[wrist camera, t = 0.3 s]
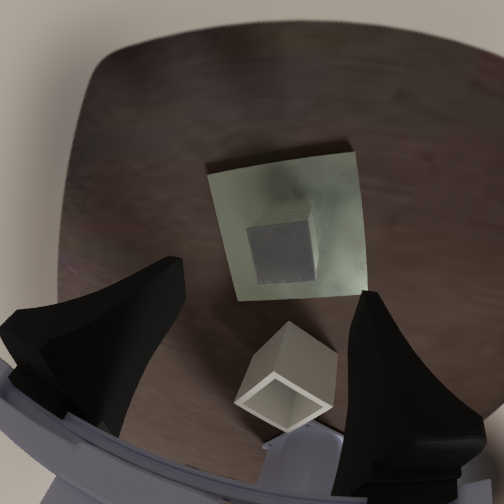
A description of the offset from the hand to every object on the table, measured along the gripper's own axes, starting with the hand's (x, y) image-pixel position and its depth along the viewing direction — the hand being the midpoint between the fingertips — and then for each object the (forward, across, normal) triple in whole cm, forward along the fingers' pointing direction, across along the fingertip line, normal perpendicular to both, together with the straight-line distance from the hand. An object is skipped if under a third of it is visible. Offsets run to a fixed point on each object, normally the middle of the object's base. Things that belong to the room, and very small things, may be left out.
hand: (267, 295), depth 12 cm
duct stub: (+10, 0, +2) cm, 10 cm away
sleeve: (+9, -2, +13) cm, 16 cm away
